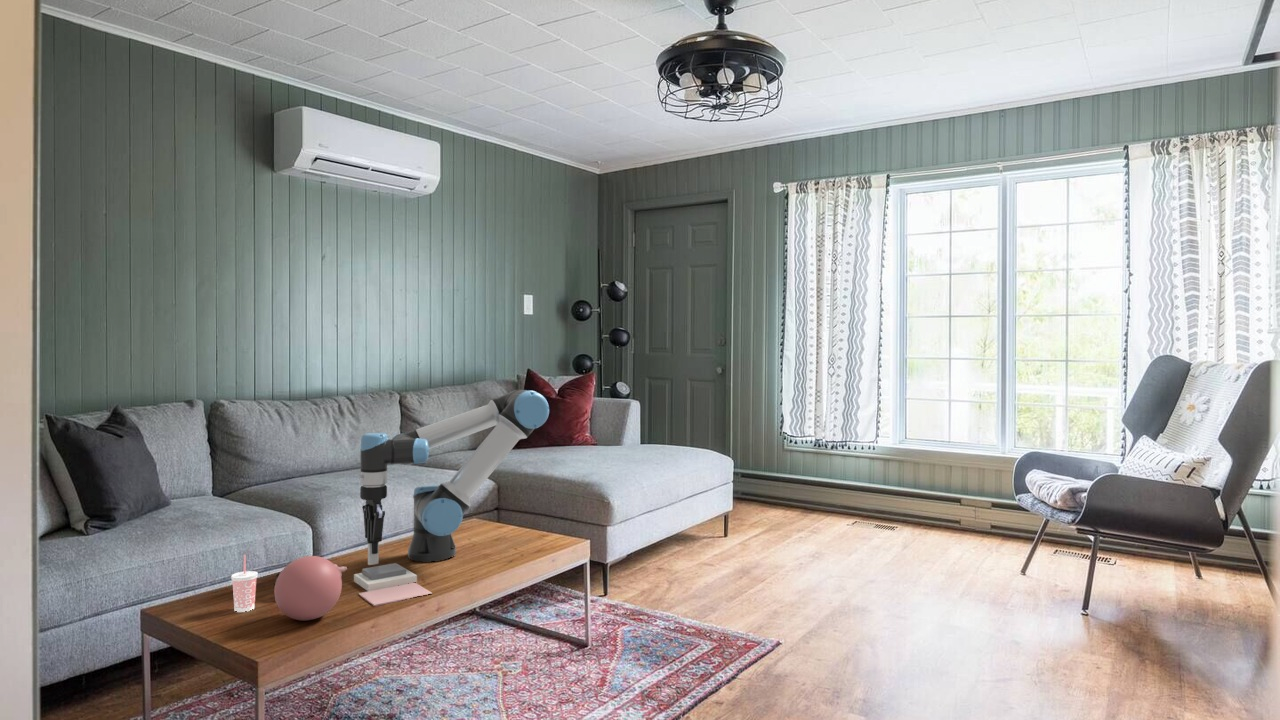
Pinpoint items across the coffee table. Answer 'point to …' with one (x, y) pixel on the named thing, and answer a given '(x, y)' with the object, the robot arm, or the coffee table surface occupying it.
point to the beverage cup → (244, 589)
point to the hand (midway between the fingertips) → (373, 563)
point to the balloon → (308, 587)
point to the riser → (384, 581)
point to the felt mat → (394, 594)
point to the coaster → (383, 571)
